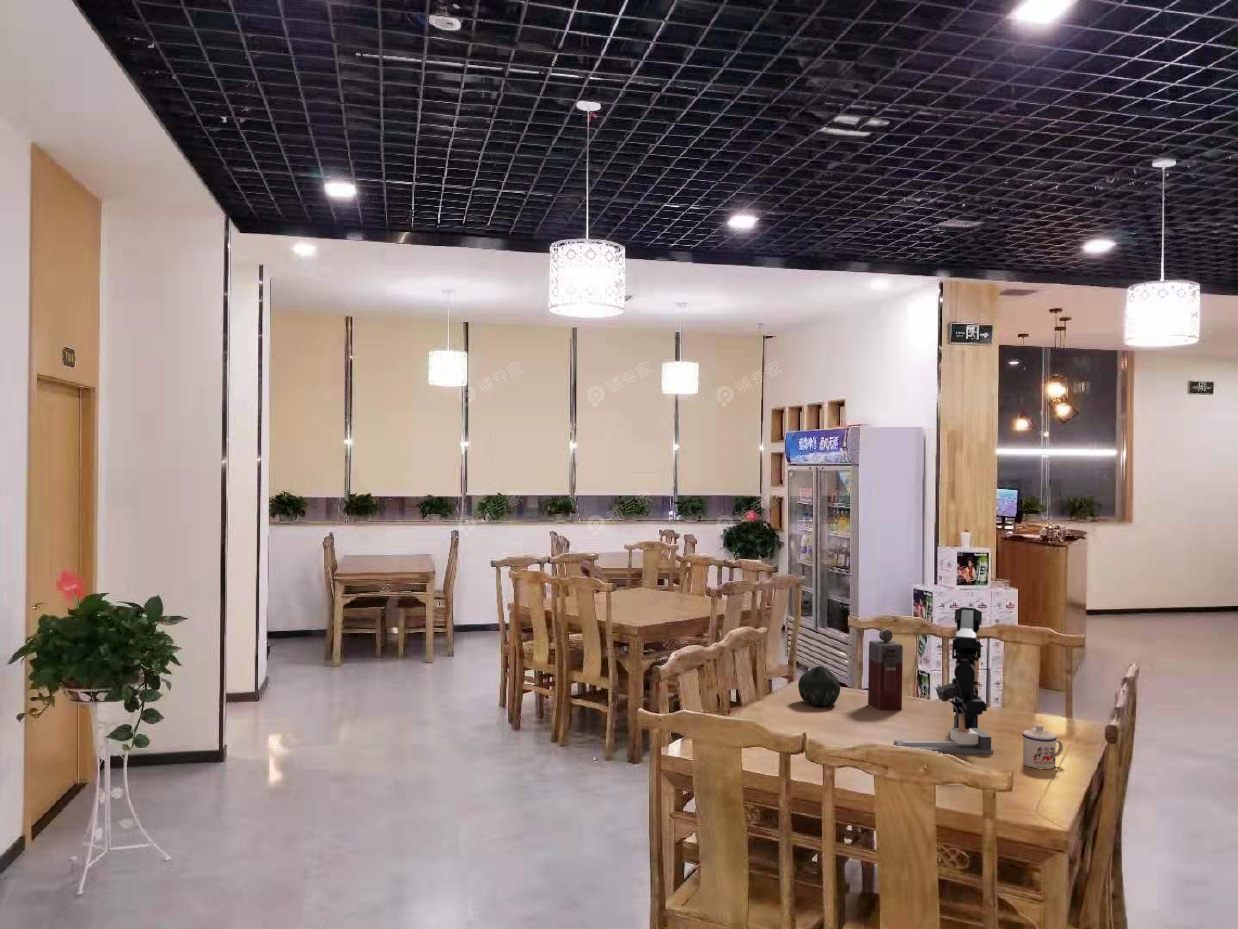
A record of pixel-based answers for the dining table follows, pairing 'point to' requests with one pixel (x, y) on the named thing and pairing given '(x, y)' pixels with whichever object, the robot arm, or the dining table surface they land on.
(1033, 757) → the teacup with lid
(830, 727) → the dining table surface
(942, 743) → the track
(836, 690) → the squash
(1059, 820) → the dining table surface
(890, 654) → the square decanter bottle
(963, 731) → the keeper
